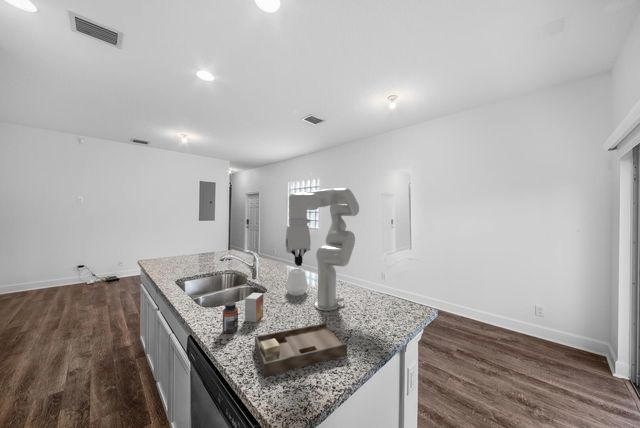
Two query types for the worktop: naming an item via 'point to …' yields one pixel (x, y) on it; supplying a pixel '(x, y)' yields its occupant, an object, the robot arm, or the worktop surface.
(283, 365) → the box
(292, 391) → the worktop surface
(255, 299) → the small box
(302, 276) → the cup
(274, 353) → the maple block
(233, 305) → the supplement bottle
